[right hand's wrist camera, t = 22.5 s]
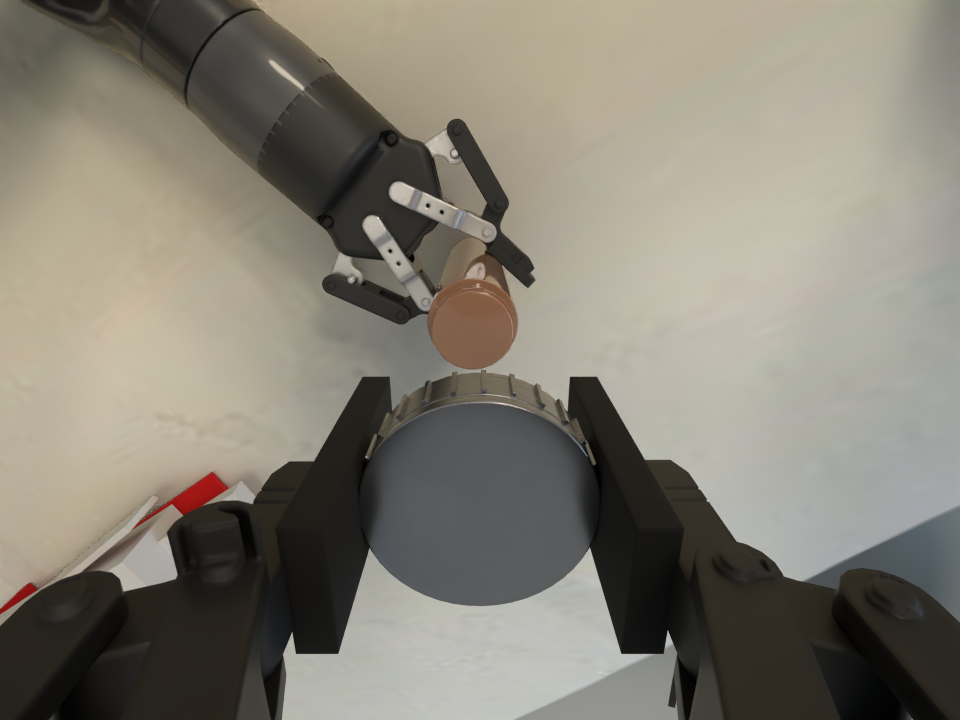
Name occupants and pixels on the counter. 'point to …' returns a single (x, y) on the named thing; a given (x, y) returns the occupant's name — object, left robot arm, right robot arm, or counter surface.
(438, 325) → the jar
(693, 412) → the counter surface
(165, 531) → the toy
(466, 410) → the lid
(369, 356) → the counter surface
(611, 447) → the right robot arm
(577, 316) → the counter surface
